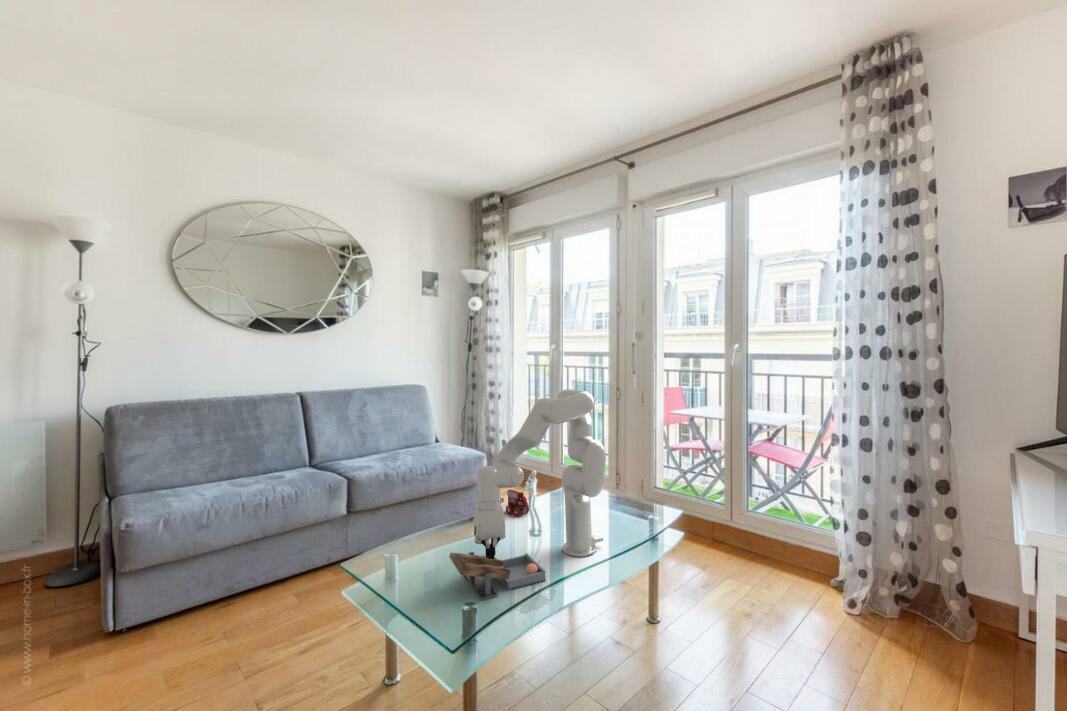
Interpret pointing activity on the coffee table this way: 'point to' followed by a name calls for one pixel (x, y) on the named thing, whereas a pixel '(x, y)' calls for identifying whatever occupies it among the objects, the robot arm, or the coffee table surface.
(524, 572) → the tray
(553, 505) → the coffee table surface
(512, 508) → the red toy vehicle
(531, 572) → the ball
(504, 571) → the lever
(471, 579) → the lever stand
